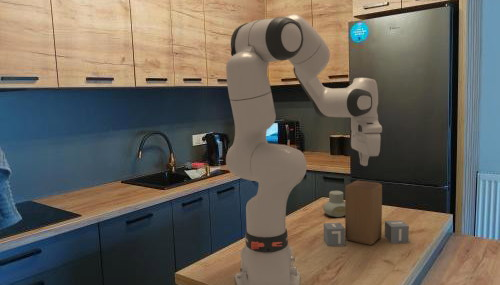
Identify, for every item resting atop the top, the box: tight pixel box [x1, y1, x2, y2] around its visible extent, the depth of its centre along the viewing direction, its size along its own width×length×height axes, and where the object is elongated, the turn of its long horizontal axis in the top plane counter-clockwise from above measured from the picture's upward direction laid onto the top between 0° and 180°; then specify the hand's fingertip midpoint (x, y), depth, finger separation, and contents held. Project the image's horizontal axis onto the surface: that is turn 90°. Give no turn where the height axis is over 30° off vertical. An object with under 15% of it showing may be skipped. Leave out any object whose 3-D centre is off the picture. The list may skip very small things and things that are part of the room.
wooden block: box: [344, 179, 383, 246], centre depth 135 cm, size 10×10×20 cm
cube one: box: [384, 219, 410, 244], centre depth 134 cm, size 6×6×6 cm
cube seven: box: [323, 222, 346, 247], centre depth 134 cm, size 6×6×6 cm
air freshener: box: [322, 190, 345, 218], centre depth 162 cm, size 11×8×10 cm
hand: (363, 165), depth 133 cm, fingers closed
